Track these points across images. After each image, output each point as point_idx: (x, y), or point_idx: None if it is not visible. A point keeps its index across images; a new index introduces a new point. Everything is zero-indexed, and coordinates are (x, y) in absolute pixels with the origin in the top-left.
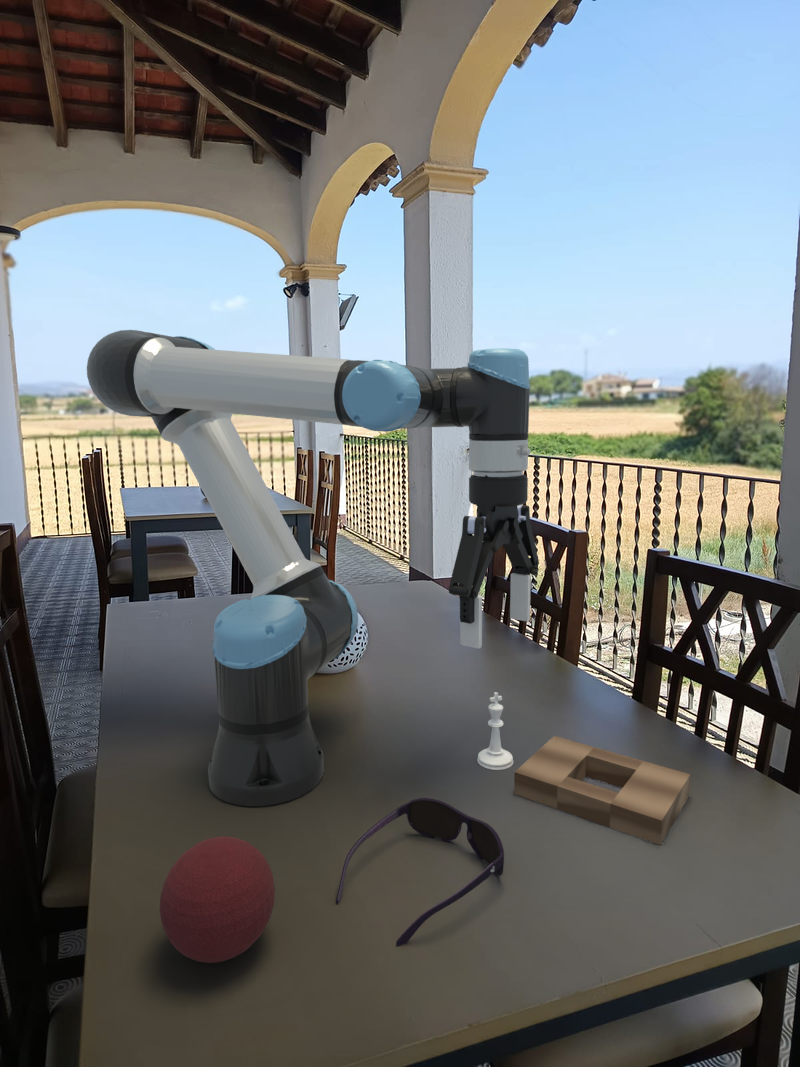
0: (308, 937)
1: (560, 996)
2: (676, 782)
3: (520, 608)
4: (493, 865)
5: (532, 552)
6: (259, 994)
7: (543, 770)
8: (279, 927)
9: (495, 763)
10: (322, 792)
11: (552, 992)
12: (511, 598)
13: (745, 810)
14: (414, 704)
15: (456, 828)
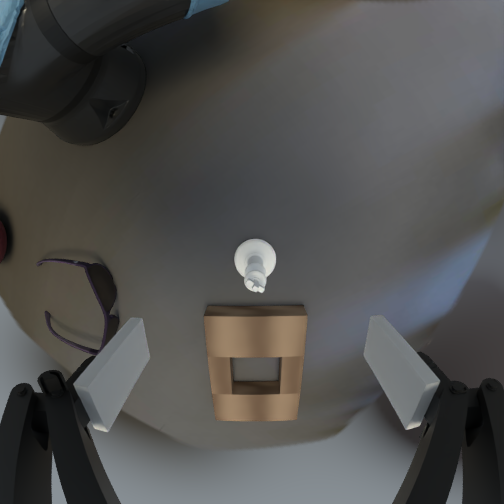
0: (23, 268)
1: None
2: (277, 417)
3: (376, 355)
4: (88, 352)
5: (463, 462)
6: (3, 273)
7: (225, 337)
8: (17, 250)
9: (238, 270)
10: (100, 152)
11: None
12: (391, 344)
13: (296, 429)
14: (327, 95)
15: (112, 302)
